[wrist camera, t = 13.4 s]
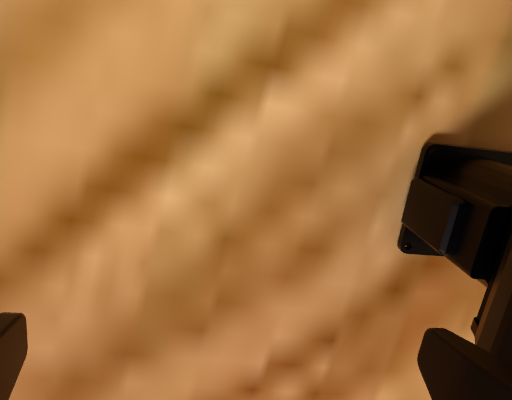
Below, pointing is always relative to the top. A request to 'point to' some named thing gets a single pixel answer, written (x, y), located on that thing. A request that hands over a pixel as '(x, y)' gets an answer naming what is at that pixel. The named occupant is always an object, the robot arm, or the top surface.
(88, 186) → the top surface
